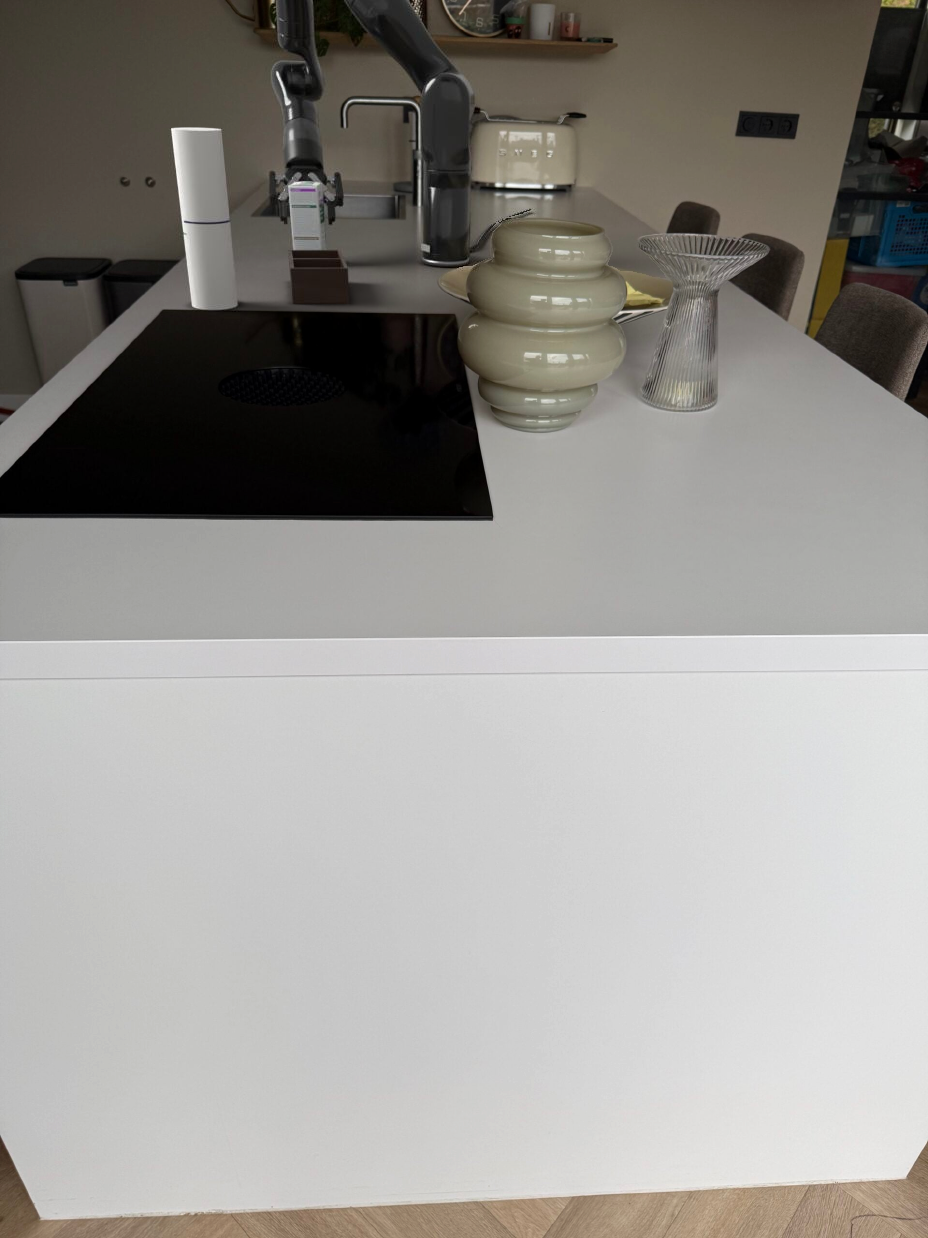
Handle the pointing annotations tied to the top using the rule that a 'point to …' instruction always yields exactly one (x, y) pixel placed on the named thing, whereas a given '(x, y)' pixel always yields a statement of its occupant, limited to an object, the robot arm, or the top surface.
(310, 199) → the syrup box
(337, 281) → the compartment organizer box
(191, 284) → the cylindrical container
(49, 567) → the top surface
